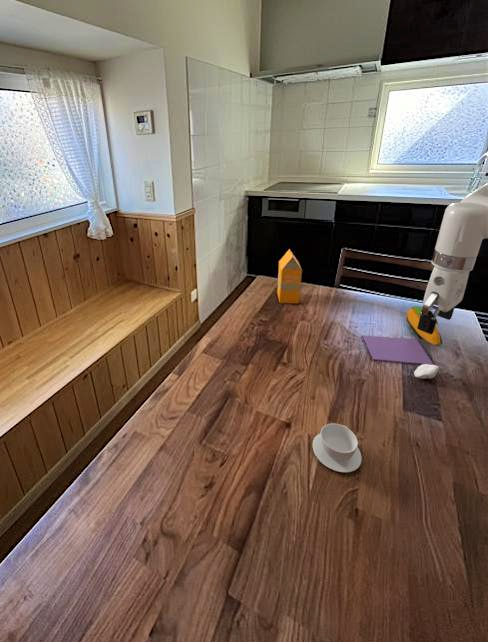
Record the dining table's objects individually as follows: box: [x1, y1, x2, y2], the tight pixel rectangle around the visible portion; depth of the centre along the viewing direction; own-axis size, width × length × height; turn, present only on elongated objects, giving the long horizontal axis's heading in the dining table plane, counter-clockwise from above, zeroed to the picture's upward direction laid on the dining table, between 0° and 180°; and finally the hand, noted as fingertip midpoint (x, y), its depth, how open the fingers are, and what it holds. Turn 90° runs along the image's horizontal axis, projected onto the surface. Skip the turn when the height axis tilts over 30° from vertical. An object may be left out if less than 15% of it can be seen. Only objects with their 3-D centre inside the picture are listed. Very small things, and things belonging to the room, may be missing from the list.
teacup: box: [312, 423, 363, 473], centre depth 73 cm, size 10×10×5 cm
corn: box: [406, 305, 444, 347], centre depth 109 cm, size 7×8×20 cm
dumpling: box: [413, 364, 440, 380], centre depth 93 cm, size 7×5×4 cm
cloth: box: [362, 335, 434, 365], centre depth 104 cm, size 16×12×1 cm
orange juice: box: [276, 248, 303, 304], centre depth 134 cm, size 8×9×20 cm
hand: (434, 324), depth 82 cm, fingers open, 9 cm apart
